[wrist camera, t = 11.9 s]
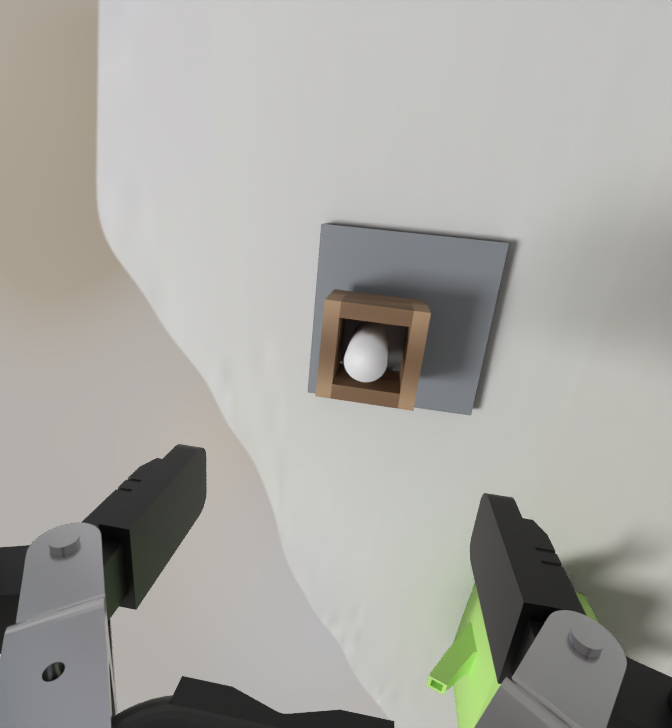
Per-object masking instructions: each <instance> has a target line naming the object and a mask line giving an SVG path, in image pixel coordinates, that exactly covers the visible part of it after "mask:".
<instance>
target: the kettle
mask: <svg viewBox="0 0 672 728" xmlns="http://www.w3.org/2000/svg"><path fill="white" fill-rule="evenodd" d="M575 593H576V595H577V597H578V599H579V601H580V603H581V605H582V607H583V609H584V611H585V613H586V615H587V616H588V617H590V618H591V619H593V620H595V621H596V622H598V620H597V618H596V616H595V614H594V613H593V611H592V609H591V607H590V605H589V603H588V601H587V599H586V597H585V595H584V594H582V593H577V592H575ZM598 623H599V622H598ZM452 685H453V688H454V695H455V703H456V711H457V719H458V727H459V728H474V727H475V726H476V724H477V722H478V721H479V719H480V718H481V716H482V714H483V713H484V711H485V709H486V708H487V706H488V705H489V703H490V701H491V700H492V698H493V696H494V695H495V693H496V692H497V690H498V688H499V687H500V685H501V684H498V682H497V678H496V673H495V669H494V664H493V660H492V655H491V651H490V646H489V642H488V637H487V633H486V628H485V624H484V619H483V615H482V610H481V606H480V602H479V597H478V593H477V588H476V584H474V587H473V589H472V592H471V595H470V598H469V600H468V603H467V606H466V609H465V612H464V614H463V617H462V620H461V623H460V626H459V628H458V631H457V634H456V637H455V640H454V642H453V644H452V645H451V647H450V648H449V649H448V651H447V652H446V653H445V655H444V656H443V657H442V658H441V660H440V661H439V662H438V664H437V665H436V666H435V668H434V669H433V670H432V671H431V673H430V675H429V678H428V681H427V684H426V686H428V687H430V688H431V689H433V690H435V691H437V692H439V693H441V694H442V695H444V693H445V691H446V690H448V689H449V688H450V687H451V686H452Z"/></svg>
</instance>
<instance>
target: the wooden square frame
mask: <svg viewBox="0 0 672 728" xmlns="http://www.w3.org/2000/svg"><path fill="white" fill-rule="evenodd" d="M430 316H431V312H430V310H429V307H428V305H427V302H426V301H425V300H417V299H409V298H401V297H393V296H385V295H377V294H369V293H361V292H353V291H345V290H337V289H334V290H333V291H332V292H331V293H330V294H329V295H328V296H327V298H326V299H325V302H324V312H323V323H322V333H321V343H320V354H319V364H318V375H317V385H316V396H319V397H325V398H332V399H339V400H345V401H352V402H359V403H365V404H372V405H379V406H385V407H392V408H399V409H405V410H412V411H413V410H414V404H415V398H416V393H417V387H418V382H419V376H420V371H421V365H422V360H423V354H424V349H425V343H426V338H427V332H428V327H429V321H430ZM345 318H346V319H353V320H361V321H369V322H376V323H384V324H391V325H399V326H406V327H407V328H406V334H405V340H404V346H403V352H402V358H401V364H400V370H399V371H392V370H385V372H384V373H383V375H382V376H381V377H380V378H378V379H377V380H375V381H372V382H360V381H357V380H355V379H354V378H352V377H351V376H350V375H349V374H348V373H347V371H346V369H345V366H344V364H343V363H340V361H341V352H342V343H343V335H344V326H345Z"/></svg>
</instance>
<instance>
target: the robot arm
mask: <svg viewBox="0 0 672 728" xmlns="http://www.w3.org/2000/svg"><path fill="white" fill-rule="evenodd" d="M205 499H206V452H205V449H204V448H200V447H194V446H188V445H181V444H178V445H176V446H175V447H174V448H173V449H172V450H171V451H170V452H169V453H168V454H167V455H166V456H165V457H164V458H163V459H159V458H156V459H154V460H152V461H150V462H148V463H146V464H145V465H142V466H140V467H139V468H138V469H137V470H136V471H135V472H134V473H133V474H132V475H131V476H130V477H129V478H128V480H125V481H124V482H123V483H122V484H121V485H120V486H119V487H118V490H115V491H114V492H113V493H112V494H111V495H110V496H109V497H107V498H106V499H105V500H104V501H103V502H102V503H101V504H100V505H99V506H98V507H97V508H96V509H95V510H94V511H93V512H92V513H91V514H90V515H89V516H88V517H87V518H86V519H84V520H83V521H82V522H81V523H70V524H65V525H61V526H58V527H56V528H53V529H51V530H49V531H47V532H45V533H43V534H42V535H41V536H39V537H38V538H37V539H36V540H34V541H33V542H32V544H31V545H28V546H16V547H1V548H0V654H1V657H0V728H394V721H391V720H385V719H381V718H376V717H372V716H367V715H362V714H358V713H353V712H348V711H343V710H331V711H318V712H306V713H294V714H282V713H279V712H277V711H275V710H273V709H271V708H269V707H268V706H266V705H264V704H262V703H260V702H259V701H257V700H255V699H253V698H252V697H250V696H248V695H246V694H244V693H243V692H241V691H239V690H237V689H235V688H234V687H230V686H226V685H221V684H217V683H212V682H208V681H203V680H198V679H193V678H188V677H184V676H182V678H181V680H180V682H179V684H178V686H177V688H176V690H175V692H174V695H173V696H164V697H160V698H155V699H151V700H148V701H145V702H142V703H139V704H137V705H134V706H132V707H130V708H128V709H126V710H124V711H122V712H121V713H119V714H118V711H117V701H116V687H115V673H114V659H113V645H112V631H111V620H110V618H111V616H112V615H113V613H114V612H115V611H116V609H117V608H118V607H119V606H121V607H126V608H130V609H137V608H138V606H139V605H140V603H141V602H142V600H143V599H144V597H145V596H146V594H147V593H148V591H149V590H150V588H151V587H152V585H153V584H154V582H155V581H156V579H157V578H158V576H159V575H160V573H161V572H162V570H163V569H164V567H165V566H166V564H167V563H168V561H169V560H170V558H171V557H172V556H173V554H174V553H175V551H176V550H177V548H178V547H179V545H180V544H181V542H182V541H183V539H184V538H185V536H186V535H187V533H188V532H189V530H190V529H191V527H192V526H193V524H194V522H195V521H196V520H197V518H198V517H199V515H200V514H201V511H202V509H203V507H204V503H205ZM470 560H471V566H472V570H473V575H474V579H475V584H476V588H477V593H478V597H479V602H480V606H481V610H482V615H483V619H484V624H485V628H486V633H487V637H488V642H489V646H490V651H491V655H492V660H493V664H494V669H495V673H496V678H497V682H498V684H501V685H500V687H499V688H498V690H497V692H496V693H495V695H494V696H493V698H492V700H491V701H490V703H489V705H488V706H487V708H486V709H485V711H484V713H483V714H482V716H481V718H480V719H479V721H478V722H477V724H476V726H475V727H474V728H672V677H670V676H667V675H665V674H663V673H661V672H658V671H656V670H654V669H652V668H649V667H647V666H645V665H643V664H640V663H638V662H636V661H634V660H632V659H630V658H628V657H627V656H625V653H624V651H623V649H622V647H621V645H620V644H619V642H618V641H617V640H616V639H615V637H614V636H613V635H612V634H611V633H610V632H609V631H608V630H607V629H606V628H604V627H603V626H602V625H601V624H599V623H598V622H596V621H595V620H593V619H591V618H590V617H588V616H587V615H586V613H585V611H584V609H583V607H582V605H581V603H580V601H579V599H578V597H577V595H576V593H575V591H574V588H573V586H572V584H571V582H570V580H569V578H568V576H567V574H566V572H565V570H564V568H563V567H561V562H560V560H559V558H558V556H557V554H555V550H554V548H553V545H552V543H551V541H550V539H549V537H548V535H547V534H546V533H545V532H544V531H543V530H542V529H541V528H540V527H539V526H538V525H537V524H536V523H535V522H534V521H533V520H530V519H524V518H522V516H521V514H520V511H519V509H518V507H517V504H516V502H515V500H514V499H513V498H512V497H506V496H499V495H493V494H487V493H484V494H483V495H482V498H481V501H480V505H479V509H478V513H477V517H476V521H475V525H474V529H473V533H472V537H471V543H470Z"/></svg>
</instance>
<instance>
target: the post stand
mask: <svg viewBox="0 0 672 728" xmlns="http://www.w3.org/2000/svg"><path fill="white" fill-rule="evenodd" d="M508 246H509V243H505V242H495V241H485V240H475V239H466V238H456V237H446V236H437V235H427V234H417V233H408V232H398V231H388V230H378V229H369V228H359V227H349V226H340V225H330V224H321V234H320V247H319V259H318V271H317V284H316V296H315V309H314V321H313V333H312V346H311V358H310V371H309V383H308V392H309V393H316V385H317V375H318V364H319V354H320V343H321V333H322V323H323V312H324V302H325V299H326V298H327V296H328V295H329V294H330V293H331V292H332V291H333V290H334V289H337V290H345V291H353V292H361V293H369V294H377V295H385V296H393V297H401V298H409V299H417V300H425V301H426V302H427V305H428V307H429V310H430V312H431V316H430V321H429V327H428V332H427V338H426V343H425V349H424V354H423V360H422V365H421V371H420V376H419V382H418V387H417V393H416V398H415V404H414V407H415V408H422V409H429V410H436V411H443V412H451V413H458V414H465V415H471V413H472V408H473V404H474V399H475V395H476V390H477V386H478V381H479V377H480V372H481V368H482V363H483V359H484V354H485V350H486V345H487V341H488V336H489V332H490V327H491V323H492V318H493V314H494V309H495V305H496V300H497V296H498V291H499V287H500V282H501V278H502V273H503V269H504V264H505V260H506V255H507V251H508ZM406 328H407V327H406V326H399V325H391V324H384V323H376V322H369V321H361V320H353V319H346V318H345V326H344V335H343V343H342V352H341V361H340V363H343V364H344V366H345V369H346V371H347V373H348V374H349V375H350V376H351V377H352V378H354V379H355V380H357V381H360V382H372V381H375V380H377V379H378V378H380V377H381V376H382V375H383V373H384V372H385V370H392V371H399V370H400V364H401V358H402V352H403V346H404V340H405V334H406Z"/></svg>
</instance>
